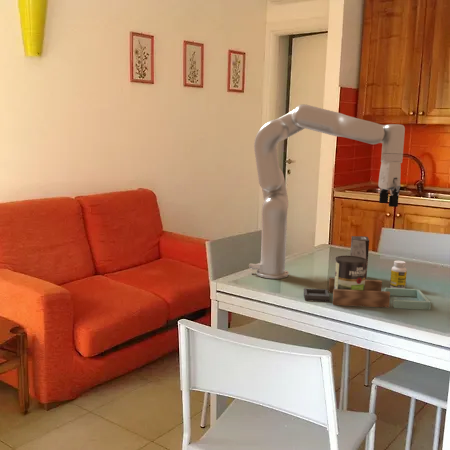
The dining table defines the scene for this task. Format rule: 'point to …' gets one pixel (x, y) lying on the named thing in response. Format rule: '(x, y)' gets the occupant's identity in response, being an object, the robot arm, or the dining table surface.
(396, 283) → the supplement bottle
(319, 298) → the tray
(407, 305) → the dock
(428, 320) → the dining table surface
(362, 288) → the coffee can
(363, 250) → the coffee box
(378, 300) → the channel
